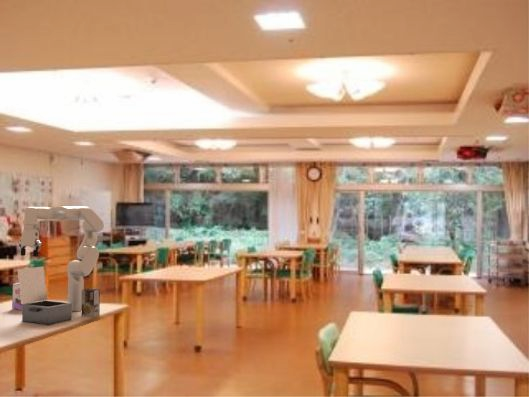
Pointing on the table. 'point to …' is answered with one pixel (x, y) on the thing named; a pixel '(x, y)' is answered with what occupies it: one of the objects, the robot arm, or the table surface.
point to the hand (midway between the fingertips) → (29, 256)
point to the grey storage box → (46, 312)
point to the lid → (32, 285)
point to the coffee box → (91, 302)
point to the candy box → (16, 297)
